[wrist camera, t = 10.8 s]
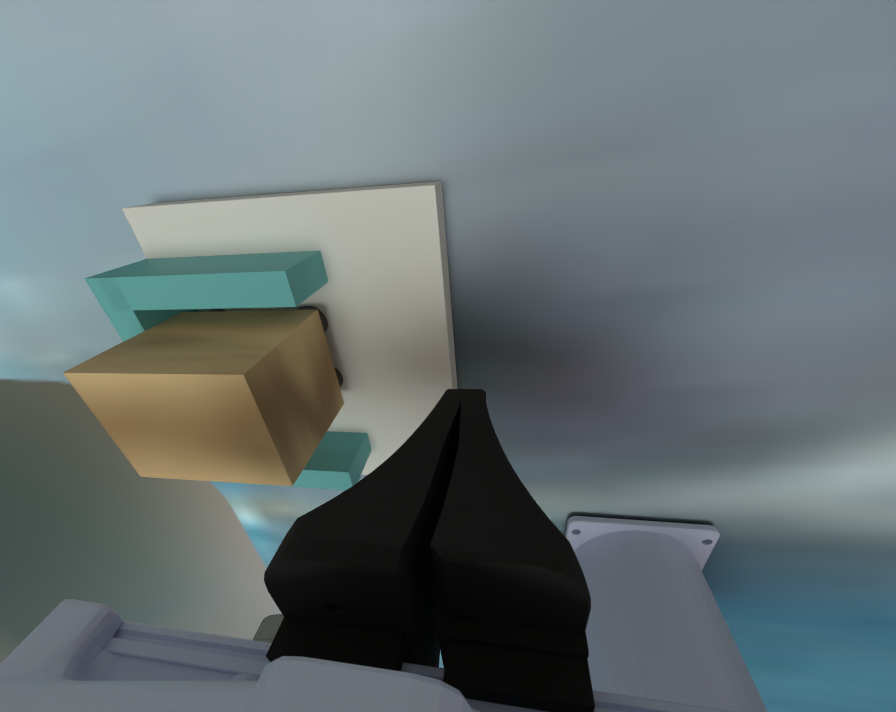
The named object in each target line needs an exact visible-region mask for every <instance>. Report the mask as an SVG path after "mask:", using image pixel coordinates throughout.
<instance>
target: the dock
mask: <svg viewBox="0 0 896 712" xmlns="http://www.w3.org/2000/svg"><path fill="white" fill-rule="evenodd" d="M122 210H123V212H124V214H125V216H126V218H127V220H128V221H129V223H130V225H131V227H132V229H133V231H134V233H135V235H136V237H137V239H138V241H139V243H140V245H141V247H142V249H143V251H144V253H145V255H146V257H147V259H145V260H142V261H139V262H136V263H132V264H129V265H126V266H123V267H120V268H117V269H113V270H110V271H107V272H104V273H101V274H98V275H94V276H91V277H88V278H85V280H86V282H87V283H88V285H89V287H90V288H91V290H92V292H93V293H94V295H95V296H96V298H97V300H98V301H99V303H100V305H101V306H102V308H103V310H104V311H105V313H106V314H107V316H108V318H109V319H110V321H111V323H112V324H113V326H114V327H115V329H116V331H117V332H118V334H119V336H120V337H121V339H122V340H123V342H124V341H126V340H128V339H130V338H132V337H134V336H136V335H138V334H140V333H142V332H144V331H146V330H147V329H149V328H151V327H153V326H155V325H157V324H159V323H161V322H163V321H165V320H167V319H169V318H171V317H173V316H175V315H177V314H179V313H181V312H206V311H208V310H210V309H224V310H226V311H271V310H298V309H299V308H300V307H302V306H313V307H315V308H317V309H319V310H320V311H321V312H322V313H323V314H324V315H325V317H326V319H327V322H328V328H327V331H326V332H325V337H326V341H327V344H328V348H329V351H330V355H331V358H332V362H333V365H334V367H335V368H337V369H338V370H339V371H340V373H341V374H342V377H343V384H342V385H341V387H340V390H341V393H342V397H343V400H344V404H343V406H342V408H341V409H340V411H339V413H338V414H337V416H336V417H335V419H334V421H333V422H332V424H331V425H330V427H329V429H328V430H327V432H326V434H325V435H324V437H323V438H322V440H321V442H320V443H319V445H318V446H317V448H316V450H315V451H314V453H313V455H312V456H311V458H310V459H309V461H308V463H307V464H306V466H305V467H304V469H303V471H302V472H301V474H300V476H299V477H298V479H297V480H296V482H295V484H294V485H293V486H290V487H305V488H321V489H336V490H347V489H349V488H350V487H352V486H353V485H355V484H356V483H358V481H359V478H360V476H361V475H368V474H370V473H371V472H372V471H374V470H375V469H376V468H377V467H378V466H380V465H381V464H382V463H383V462H384V461H386V460H387V459H388V458H389V457H390V456H391V455H392V454H393V453H394V452H395V451H396V450H397V449H399V448H400V447H401V446H402V445H403V444H404V442H405V441H406V440H407V439H408V438H409V437H410V436H411V435H412V434H413V433H414V432H415V430H416V429H417V428H418V427H419V426H420V425H421V423H422V422H423V421H424V420H425V418H426V417H427V416H428V415H429V413H430V412H431V411H432V409H433V408H434V407H435V405H436V404H437V403H438V401H439V400H440V398H441V397H442V395H443V394H444V392H445V391H446V390H447V389H458V387H457V374H456V361H455V348H454V335H453V322H452V309H451V296H450V283H449V270H448V257H447V244H446V231H445V218H444V205H443V192H442V181H437V182H424V183H411V184H398V185H384V186H371V187H358V188H345V189H332V190H319V191H305V192H292V193H279V194H266V195H253V196H239V197H226V198H213V199H200V200H187V201H174V202H160V203H152V204H145V205H139V206H133V207H127V208H122ZM212 482H217V481H212ZM228 483H233V482H228ZM243 484H249V483H243ZM259 485H264V484H259ZM274 486H280V485H274Z"/></svg>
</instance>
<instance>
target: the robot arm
mask: <svg viewBox="0 0 896 712" xmlns="http://www.w3.org/2000/svg"><path fill="white" fill-rule="evenodd" d="M719 537H720V534H719V532H718V530H717V529H716V527H714V526H711V525H701V524H687V523H672V522H658V521H643V520H629V519H614V518H600V517H586V516H572V517H570V518H569V519H568V521H567V527H566V534H565V536H564V535H563V534H562V533H561V532H560V531H559V530H558V528H557V527H556V526H555V525H554V524H553V523H552V522H551V520H550V519H549V518H548V517H547V516H546V514H545V513H544V512H543V511H542V509H541V508H540V507H539V506H538V504H537V503H536V502H535V500H534V499H533V498H532V496H531V495H530V493H529V492H528V491H527V489H526V488H525V486H524V485H523V484H522V482H521V481H520V479H519V477H518V476H517V474H516V473H515V471H514V469H513V468H512V466H511V464H510V462H509V461H508V459H507V457H506V455H505V453H504V451H503V449H502V447H501V445H500V443H499V440H498V438H497V436H496V433H495V431H494V428H493V426H492V423H491V420H490V417H489V414H488V410H487V405H486V392H485V391H484V390H482V389H447V390H446V391H445V392H444V394H443V395H442V397H441V398H440V400H439V401H438V403H437V404H436V405H435V407H434V408H433V409H432V411H431V412H430V413H429V415H428V416H427V417H426V418H425V420H424V421H423V422H422V423H421V425H420V426H419V427H418V428H417V429H416V430H415V432H414V433H413V434H412V435H411V436H410V437H409V438H408V439H407V440H406V441H405V442H404V444H403V445H402V446H401V447H400V448H399V449H397V450H396V451H395V452H394V453H393V454H392V455H391V456H390V457H389V458H388V459H387V460H386V461H384V462H383V463H382V464H381V465H380V466H378V467H377V468H376V469H375V470H374V471H372V472H371V473H370V474H368V475H367V476H366V477H365V478H363V479H362V480H360V481H359V482H358V483H356V484H355V485H353V486H352V487H350V488H349V489H347V490H346V491H344V492H343V493H341V494H339V495H338V496H336V497H335V498H333V499H331V500H330V501H328V502H326V503H324V504H323V505H321V506H319V507H317V508H315V509H314V510H312V511H310V512H308V513H306V514H305V515H303V516H301V517H299V518H297V519H296V521H295V523H294V524H293V525H292V527H291V528H290V530H289V531H288V533H287V534H286V536H285V538H284V539H283V541H282V543H281V545H280V546H279V548H278V550H277V552H276V553H275V555H274V557H273V559H272V560H271V562H270V564H269V566H268V568H267V569H266V571H265V575H264V581H265V585H266V587H267V589H268V592H269V593H270V595H271V597H272V598H273V600H274V601H275V603H276V605H277V606H278V608H279V610H280V611H281V612H282V614H283V616H284V618H283V620H282V622H281V625H280V627H279V629H278V631H277V633H276V635H275V637H274V639H273V641H272V643H267V642H261V641H254V640H247V639H240V638H233V637H226V636H219V635H213V634H206V633H199V632H192V631H186V630H179V629H172V628H165V627H159V626H151V625H144V624H138V623H131V622H124V621H123V618H122V617H121V616H120V614H119V613H117V612H116V611H115V610H114V609H112V608H111V607H108V606H106V605H103V604H99V603H94V602H86V601H79V600H72V599H67V600H63V601H62V602H61V603H60V604H59V605H58V606H57V607H56V608H55V609H54V610H53V611H52V612H51V613H50V614H49V615H48V617H46V618H45V619H44V620H43V622H41V623H40V624H39V626H38V627H37V628H36V629H35V630H34V631H33V632H32V633H31V634H30V635H29V636H28V637H27V638H26V639H25V640H24V641H23V642H22V643H21V644H20V645H19V646H18V647H17V648H16V649H15V650H14V651H13V652H12V653H11V654H10V655H9V656H8V657H7V658H6V659H5V660H4V661H3V662H2V663H1V664H0V712H768V711H767V709H766V707H765V705H764V703H763V701H762V699H761V696H760V694H759V692H758V690H757V688H756V686H755V684H754V682H753V679H752V677H751V675H750V673H749V671H748V669H747V667H746V664H745V662H744V660H743V658H742V656H741V654H740V652H739V649H738V647H737V645H736V643H735V641H734V639H733V637H732V635H731V632H730V630H729V628H728V626H727V624H726V622H725V620H724V617H723V615H722V613H721V611H720V609H719V607H718V605H717V603H716V600H715V598H714V596H713V594H712V592H711V590H710V588H709V585H708V583H707V581H706V579H705V577H704V575H703V573H702V569H703V567H704V566H705V564H706V562H707V560H708V558H709V556H710V554H711V552H712V550H713V548H714V546H715V544H716V542H717V540H718V539H719ZM440 650H441V655H442V660H443V665H444V668H439V657H440Z"/></svg>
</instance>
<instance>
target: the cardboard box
mask: <svg viewBox="0 0 896 712" xmlns="http://www.w3.org/2000/svg"><path fill="white" fill-rule="evenodd" d="M327 328H328V322H327V319H326V317H325V315H324V314H323V313H322V312H321V311H320V310H319V309H317V308H315V307H313V306H302V307H300V308H299V309H298V310H271V311H226V310H224V309H210V310H208V311H206V312H181V313H179V314H177V315H175V316H173V317H171V318H169V319H167V320H165V321H163V322H161V323H159V324H157V325H155V326H153V327H151V328H149V329H147V330H146V331H144V332H142V333H140V334H138V335H136V336H134V337H132V338H130V339H128V340H126V341H124V342H122V343H120V344H118V345H116V346H114V347H112V348H111V349H109V350H107V351H105V352H103V353H101V354H99V355H97V356H95V357H93V358H91V359H89V360H87V361H85V362H83V363H81V364H79V365H77V366H76V367H74V368H72V369H70V370H68V371H66V372H64V373H63V374H64V375H65V376H66V378H67V379H68V380H69V381H70V383H71V384H72V385H73V387H74V388H75V389H76V391H77V392H78V393H79V395H80V396H81V397H82V399H83V400H84V401H85V403H86V404H87V405H88V407H89V408H90V409H91V411H92V412H93V413H94V415H95V416H96V417H97V419H98V420H99V421H100V423H101V424H102V425H103V427H104V428H105V429H106V431H107V432H108V433H109V435H110V436H111V437H112V439H113V440H114V441H115V443H116V444H117V445H118V447H119V448H120V449H121V451H122V452H123V453H124V455H125V456H126V457H127V459H128V460H129V461H130V463H131V464H132V465H133V467H134V468H135V469H136V471H137V472H138V473H139V475H140V476H141V477H156V478H171V479H187V480H202V481H203V480H204V481H217V482H233V483H249V484H264V485H280V486H293V485H294V484H295V482H296V480H297V479H298V477H299V476H300V474H301V472H302V471H303V469H304V467H305V466H306V464H307V463H308V461H309V459H310V458H311V456H312V455H313V453H314V451H315V450H316V448H317V446H318V445H319V443H320V442H321V440H322V438H323V437H324V435H325V434H326V432H327V430H328V429H329V427H330V425H331V424H332V422H333V421H334V419H335V417H336V416H337V414H338V413H339V411H340V409H341V408H342V406H343V404H344V400H343V397H342V393H341V390H340V387H341V385H342V384H343V377H342V374H341V373H340V371H339V370H338V369H337V368H335V367H334V365H333V362H332V358H331V355H330V351H329V348H328V344H327V341H326V337H325V332H326V331H327Z"/></svg>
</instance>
